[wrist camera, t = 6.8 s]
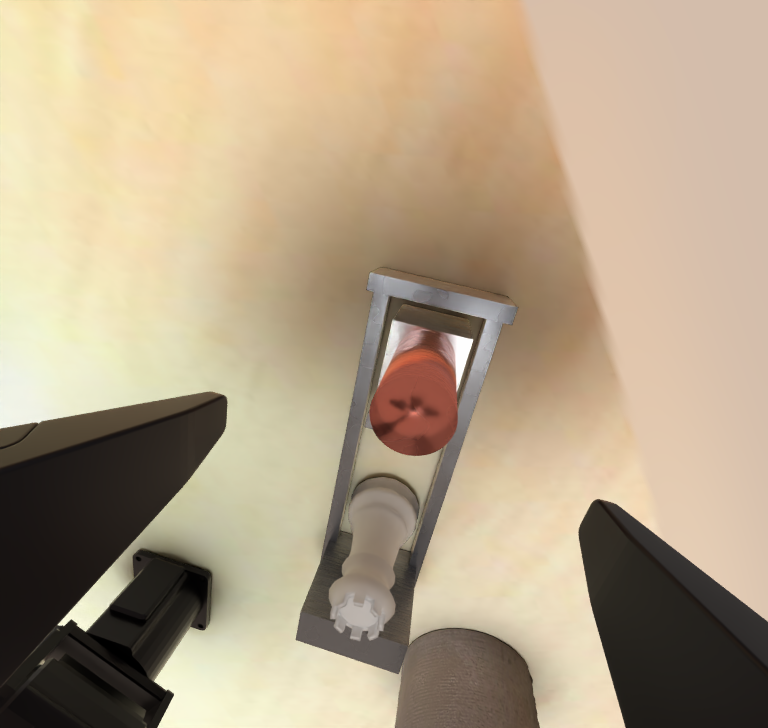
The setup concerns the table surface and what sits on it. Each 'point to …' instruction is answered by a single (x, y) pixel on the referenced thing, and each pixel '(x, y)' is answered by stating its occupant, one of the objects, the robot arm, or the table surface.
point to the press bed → (407, 565)
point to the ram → (420, 381)
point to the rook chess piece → (372, 556)
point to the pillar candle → (464, 683)
